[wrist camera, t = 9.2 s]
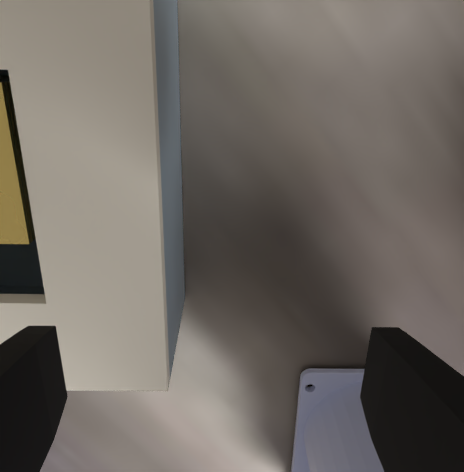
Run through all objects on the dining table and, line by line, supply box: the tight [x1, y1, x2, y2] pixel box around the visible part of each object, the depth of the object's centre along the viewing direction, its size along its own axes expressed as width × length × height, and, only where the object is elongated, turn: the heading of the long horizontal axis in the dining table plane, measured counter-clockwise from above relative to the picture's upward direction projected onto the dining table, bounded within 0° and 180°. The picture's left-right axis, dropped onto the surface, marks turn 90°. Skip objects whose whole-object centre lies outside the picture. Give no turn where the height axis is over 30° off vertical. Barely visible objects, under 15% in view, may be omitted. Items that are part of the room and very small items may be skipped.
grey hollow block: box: [0, 0, 185, 391], centre depth 15 cm, size 14×12×6 cm
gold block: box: [0, 76, 36, 244], centre depth 15 cm, size 5×3×5 cm, turn 179°
